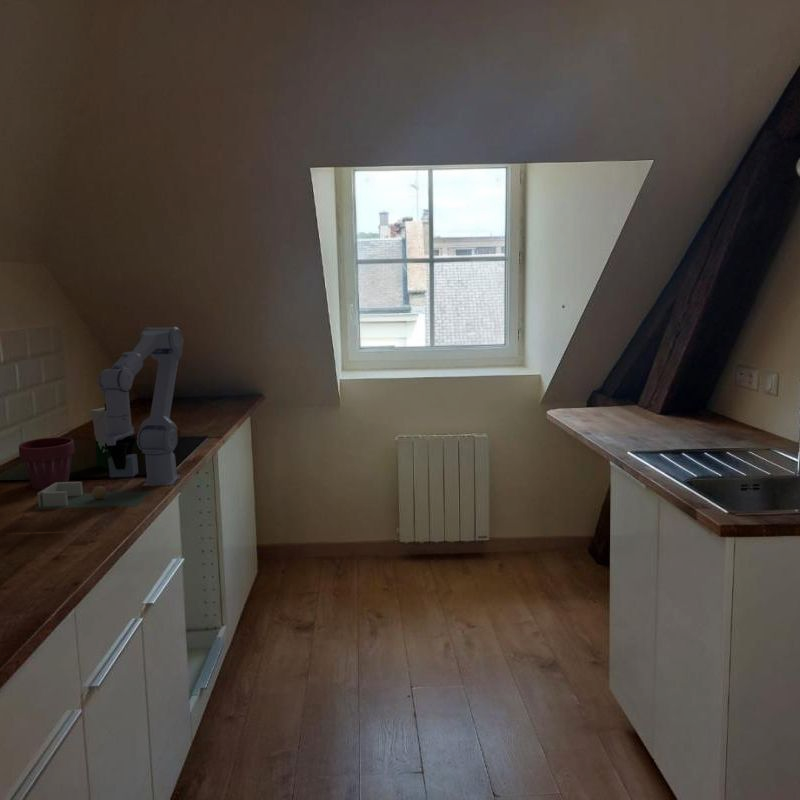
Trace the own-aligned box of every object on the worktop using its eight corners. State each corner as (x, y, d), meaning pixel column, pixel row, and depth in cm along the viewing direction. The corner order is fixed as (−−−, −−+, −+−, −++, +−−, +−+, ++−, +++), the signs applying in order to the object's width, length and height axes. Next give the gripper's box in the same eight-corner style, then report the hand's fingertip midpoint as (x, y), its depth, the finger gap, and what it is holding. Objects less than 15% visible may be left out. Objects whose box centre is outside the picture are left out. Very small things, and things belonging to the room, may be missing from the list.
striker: (115, 473, 199) (113, 454, 198) (138, 472, 199) (136, 453, 198) (109, 477, 195) (108, 458, 194) (133, 476, 195) (131, 457, 194)
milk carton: (109, 470, 231) (103, 405, 227) (92, 466, 236) (85, 403, 233) (134, 464, 238) (128, 401, 235) (116, 460, 243) (110, 399, 240)
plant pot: (80, 488, 211) (75, 443, 209) (24, 496, 205) (19, 450, 203) (75, 477, 224) (71, 434, 222) (22, 484, 217) (17, 440, 215)
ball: (95, 497, 200) (94, 484, 199) (108, 496, 200) (107, 484, 199) (90, 501, 196) (89, 488, 196) (103, 500, 196) (102, 487, 196)
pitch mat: (56, 495, 204) (56, 494, 204) (153, 492, 204) (152, 491, 204) (33, 510, 191) (33, 508, 191) (136, 507, 191) (136, 505, 191)
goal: (56, 495, 203) (55, 482, 203) (83, 494, 203) (81, 481, 203) (38, 506, 193) (37, 493, 193) (66, 505, 193) (64, 492, 193)
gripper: (113, 410, 202) (118, 460, 204) (92, 421, 187) (97, 474, 190) (140, 409, 202) (144, 459, 204) (120, 420, 187) (125, 473, 190)
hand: (123, 466), depth 197 cm, fingers closed on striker, 4 cm apart
